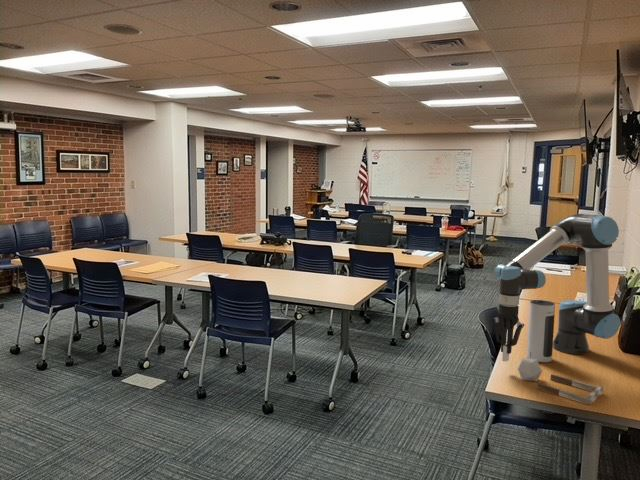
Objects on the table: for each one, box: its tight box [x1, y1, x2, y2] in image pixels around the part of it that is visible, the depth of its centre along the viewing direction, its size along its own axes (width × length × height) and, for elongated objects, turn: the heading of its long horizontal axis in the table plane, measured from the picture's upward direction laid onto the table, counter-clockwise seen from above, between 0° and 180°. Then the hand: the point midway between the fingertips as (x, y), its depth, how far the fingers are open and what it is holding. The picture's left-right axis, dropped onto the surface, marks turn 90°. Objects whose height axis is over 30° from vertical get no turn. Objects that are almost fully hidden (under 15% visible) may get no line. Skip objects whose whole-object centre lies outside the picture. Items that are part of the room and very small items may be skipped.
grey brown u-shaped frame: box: [536, 373, 604, 406], centre depth 184 cm, size 14×18×3 cm
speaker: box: [526, 299, 556, 363], centre depth 217 cm, size 11×10×26 cm
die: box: [517, 357, 543, 382], centre depth 195 cm, size 8×9×10 cm
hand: (505, 360), depth 202 cm, fingers closed
